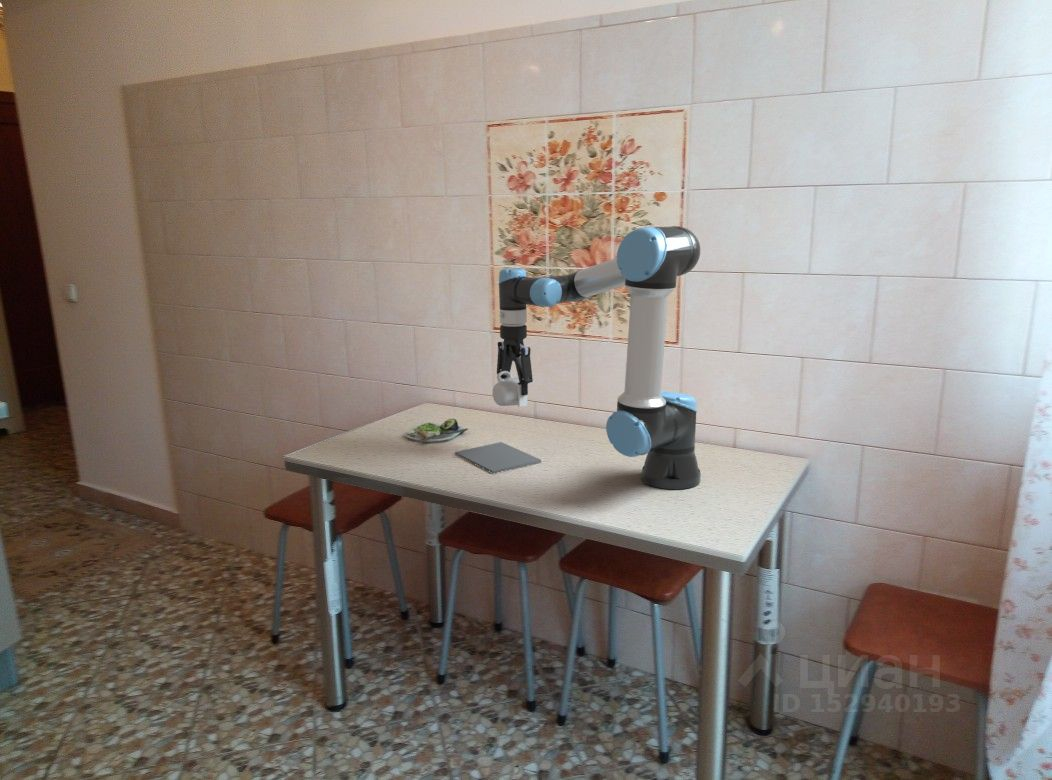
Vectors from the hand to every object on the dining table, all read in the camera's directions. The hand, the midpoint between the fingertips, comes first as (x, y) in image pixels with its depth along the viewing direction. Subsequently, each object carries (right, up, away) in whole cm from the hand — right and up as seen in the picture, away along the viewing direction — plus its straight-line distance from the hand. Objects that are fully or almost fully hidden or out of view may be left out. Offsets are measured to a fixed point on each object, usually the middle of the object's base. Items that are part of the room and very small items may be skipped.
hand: (514, 402), depth 210 cm
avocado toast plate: (-25, -11, +24) cm, 37 cm away
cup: (-6, +4, -4) cm, 8 cm away
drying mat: (-5, -16, 0) cm, 17 cm away
